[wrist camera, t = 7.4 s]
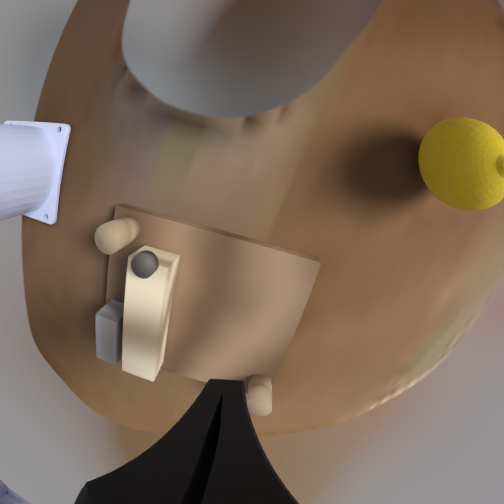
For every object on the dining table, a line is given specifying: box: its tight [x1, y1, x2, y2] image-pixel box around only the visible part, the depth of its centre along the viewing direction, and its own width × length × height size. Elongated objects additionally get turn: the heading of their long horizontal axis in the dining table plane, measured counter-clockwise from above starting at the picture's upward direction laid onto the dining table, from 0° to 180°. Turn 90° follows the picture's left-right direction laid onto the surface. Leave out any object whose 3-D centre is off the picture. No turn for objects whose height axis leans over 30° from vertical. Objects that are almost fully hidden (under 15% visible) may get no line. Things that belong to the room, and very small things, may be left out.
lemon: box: [418, 117, 504, 210], centre depth 13 cm, size 6×6×8 cm
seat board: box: [95, 204, 321, 417], centre depth 18 cm, size 14×12×4 cm
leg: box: [122, 245, 180, 382], centre depth 17 cm, size 10×2×3 cm, turn 165°
